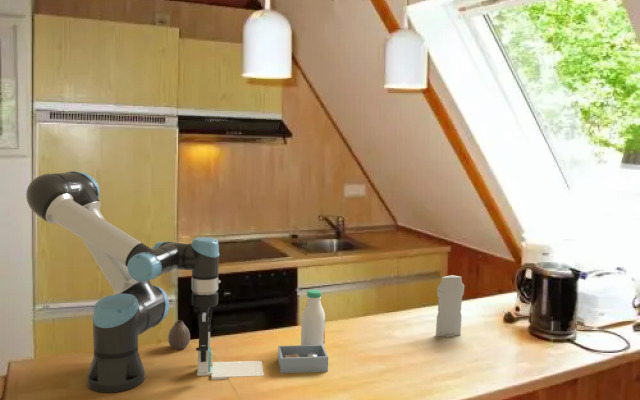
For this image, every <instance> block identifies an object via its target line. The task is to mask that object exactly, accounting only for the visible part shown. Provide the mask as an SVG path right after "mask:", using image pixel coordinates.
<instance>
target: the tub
mask: <svg viewBox="0 0 640 400" xmlns="http://www.w3.org/2000/svg"><path fill="white" fill-rule="evenodd" d="M311 352H312V353H317V354H318V357H307V356H308V353H311ZM290 354H298V355H299V356H300V357H291V358H284V355H290ZM277 363H278V367H279V372H280V374H294V373H295V374H297V373H298V374H299V373H321V372H322V373H324V372H325V373H327V372H328V371H329V368H328V367H329V356H328V354H327V351H326V349H325V345H324V346H323V345H301V344H300V345H278V346H277Z"/></svg>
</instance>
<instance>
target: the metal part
mask: <svg viewBox="0 0 640 400" xmlns="http://www.w3.org/2000/svg"><path fill="white" fill-rule="evenodd" d="M307 357H318V354H317V353H312V352H311V353H308V356H307Z"/></svg>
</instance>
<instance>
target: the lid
mask: <svg viewBox="0 0 640 400" xmlns="http://www.w3.org/2000/svg"><path fill="white" fill-rule="evenodd" d="M198 352H199V351H198ZM198 352H197V353H198ZM263 368H264V367H263V361H262V360H245V361H244V360H243V361H241V360H238V361H212V347H210V348H208V372H198V369H197V372H196V376H197V377H199V376H200V377H201V376H202V377H205V376H208V377H209V376H211V380H212V381H213V380H214V381H217V380H230V378H241V377H243V378H244V377H263V376H264V369H263Z"/></svg>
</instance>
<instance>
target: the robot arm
mask: <svg viewBox="0 0 640 400" xmlns="http://www.w3.org/2000/svg"><path fill="white" fill-rule="evenodd" d="M100 191H101V190H100V186H99V184H98V182H97V181H96V179H94V177H93V176H91V175H90V174H88V173H86V172H83V171H75V170H73V171H67V172H56V173H44V174H40V175H39V176H36V178H34V179H32V181H31V182H30V183H29V185H28V187H27V190H26V194H25V195H26V202H27V204H28V207H29V208H30V209H31V211H32V212H33V213H34V214H36V215H37V216H38V217H39V218H41V219H42V220H43V221H45V222H48V223H49V224H51V225H54V224H57V225H59V226H61V227H62V228H64V229H65V230H67V231H69V232H70V233H72V234H73V235H75V236H77V237H78V238H80V239H81V240H82V242H83V244H84V245H85V246H86V248H87V250H88V252H89V253H90V255H91V256H92V257H93V260H94V262H95V263H96V265H97V266H98V268H99V269H100V271H101V272H102V274H103V276H104V277H105V279H106V280H107V282H108V284H109V285H110V287H111V288H112V290H113V295H107V296H104V297H102V298H100V299H99V300H98V301H96V302H95V304H94V306H93V314H92V318H91V319H92V323H93V324H92V325H93V326H92V329H93V334H92V335H93V358H92V360H91V364H90V366H89V371H88V373H87V376H86V377H87V379H86V380H87V381H86V383H87V384H86V385H87V387H88V388H89V389H90V390H92V391H94V392H99V393H119V392H125V391H128V390H132V389H134V388H136V387H138V386H140V385H141V384H142V383H144V381H145V378H146V376H145V374H146V372H145V371H146V370H145V367H144V365H143V361H142V359H141V356H140V353H139V336H140V335H141V334H143V333H145V332H147V331H148V330H151V329H152V328H154V327H156V326H157V325H159V324H160V323H161V322H162V321H164V319H166V317H167V316H168V313H169V309H170V300H169V297H168V296H169V295H168V294H167V292H166V291H165V290H164V289H163V288H162V287H161V286H157V285H153V283H151V281H150V280H155V279H156V278H158V277H159V276H162V275H164V274H167V273H169V272H171V271H174V270H185V271H191V291H192V292H191V305H192V306H193V307H195V308H199V309H198V310H197V322H198V323H197V326H198V329H199V330H198V347H196V348H195V351H196V352H197V351H199V352H197V370H198V372H208V348H211V332H213V327H211V320H212V315H213V309H212V308H213V307H216V306H217V305H218V304H219V292H218V290H219V284H220V283H221V282H222V281H221V280H220V279H219V266H220V265H219V263H220V260H219V259H220V249H219V247H220V245H219V240H218V239H216V238H214V237H207V236H206V237H204V236H202V237H195V238H193V239H192V243H184V242H183V243H182V242H173V241H158V242H156V243H155V245H154V246H153V247H152V248H151V247H150V246H148V245H146V244H144V243H143V242H141V241H140V240H138V239H136V238H135V237H133V236H131V235H129V234H128V233H126V232H125V231H124V230H122V229H120V228H119V227H117V226H115V225H114V224H112V223H111V222H109V221H107V220H106V218H105V217H104V216H103V214H102V212H101V211H100V209H101V205H102V203H101V201H100Z"/></svg>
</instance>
